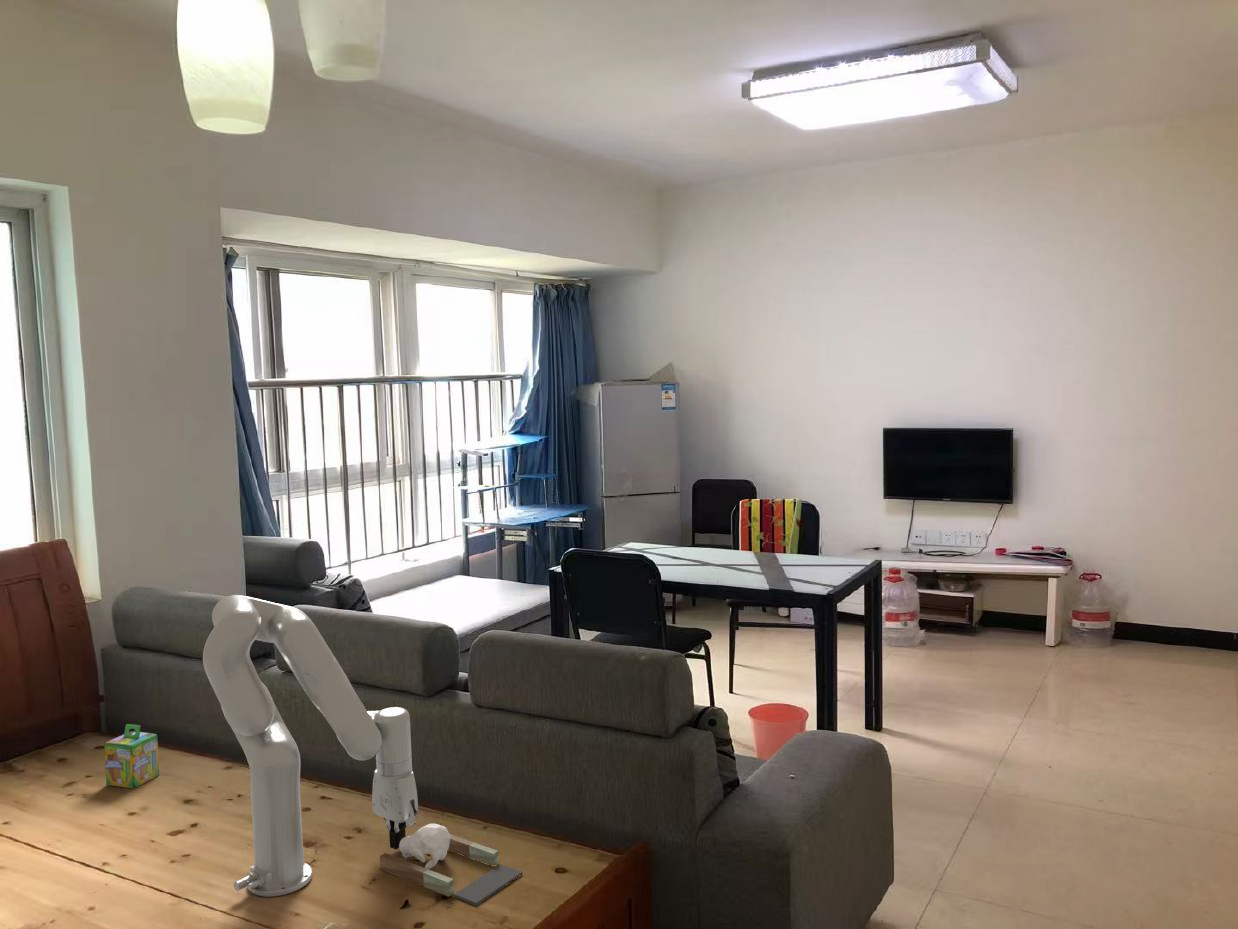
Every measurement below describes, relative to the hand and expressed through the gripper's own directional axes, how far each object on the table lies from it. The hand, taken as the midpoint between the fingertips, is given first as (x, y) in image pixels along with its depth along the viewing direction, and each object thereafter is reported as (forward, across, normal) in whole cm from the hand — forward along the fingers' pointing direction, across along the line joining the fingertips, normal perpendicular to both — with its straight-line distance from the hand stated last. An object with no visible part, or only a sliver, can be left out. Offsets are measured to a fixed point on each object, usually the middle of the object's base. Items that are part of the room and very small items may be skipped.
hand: (397, 846), depth 209 cm
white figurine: (+1, +8, 0) cm, 8 cm away
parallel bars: (+1, +13, 0) cm, 13 cm away
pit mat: (+1, +27, 0) cm, 27 cm away
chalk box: (+1, -88, -10) cm, 89 cm away
